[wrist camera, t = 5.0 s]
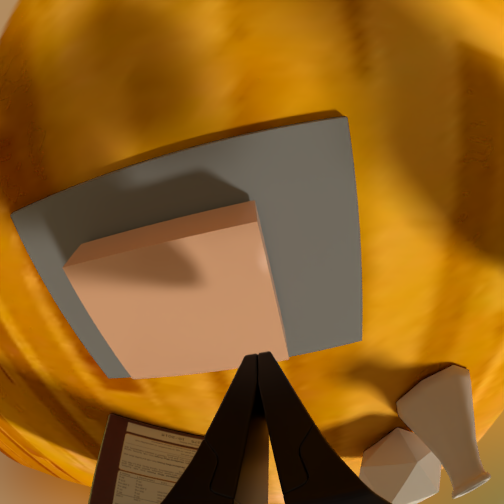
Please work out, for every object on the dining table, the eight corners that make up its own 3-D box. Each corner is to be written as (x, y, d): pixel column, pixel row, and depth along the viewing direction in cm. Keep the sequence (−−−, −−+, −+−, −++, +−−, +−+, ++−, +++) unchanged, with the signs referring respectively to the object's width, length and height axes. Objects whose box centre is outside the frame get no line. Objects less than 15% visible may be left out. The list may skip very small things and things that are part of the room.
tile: (257, 221, 10) (62, 267, 11) (289, 359, 14) (133, 379, 15) (254, 197, 12) (83, 240, 13) (283, 325, 16) (142, 347, 17)
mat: (344, 116, 11) (347, 117, 11) (360, 335, 17) (361, 340, 17) (14, 211, 13) (10, 214, 12) (110, 373, 18) (108, 378, 18)
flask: (381, 401, 21) (415, 512, 13) (458, 350, 19) (514, 457, 10) (410, 422, 24) (439, 509, 15) (473, 381, 22) (514, 465, 13)
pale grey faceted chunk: (334, 439, 25) (339, 522, 22) (415, 439, 19) (414, 536, 15) (384, 418, 30) (388, 492, 26) (454, 411, 23) (455, 495, 19)
